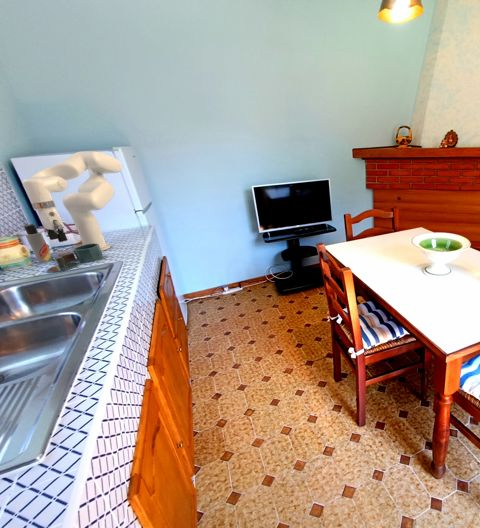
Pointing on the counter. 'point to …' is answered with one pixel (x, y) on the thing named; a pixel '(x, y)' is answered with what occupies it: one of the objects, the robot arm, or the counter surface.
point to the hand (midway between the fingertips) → (59, 240)
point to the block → (68, 257)
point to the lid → (61, 265)
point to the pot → (88, 253)
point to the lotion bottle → (38, 244)
